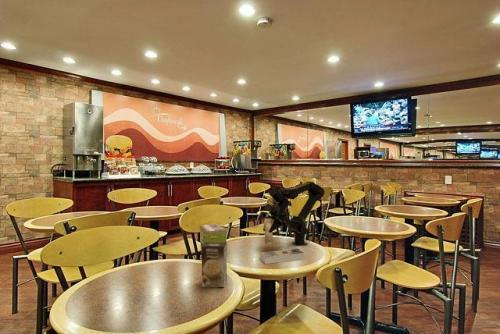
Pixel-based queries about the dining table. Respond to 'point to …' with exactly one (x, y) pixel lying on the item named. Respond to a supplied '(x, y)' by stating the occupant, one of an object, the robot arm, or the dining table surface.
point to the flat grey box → (282, 256)
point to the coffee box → (214, 264)
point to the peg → (267, 234)
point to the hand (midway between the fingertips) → (266, 231)
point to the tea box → (212, 234)
